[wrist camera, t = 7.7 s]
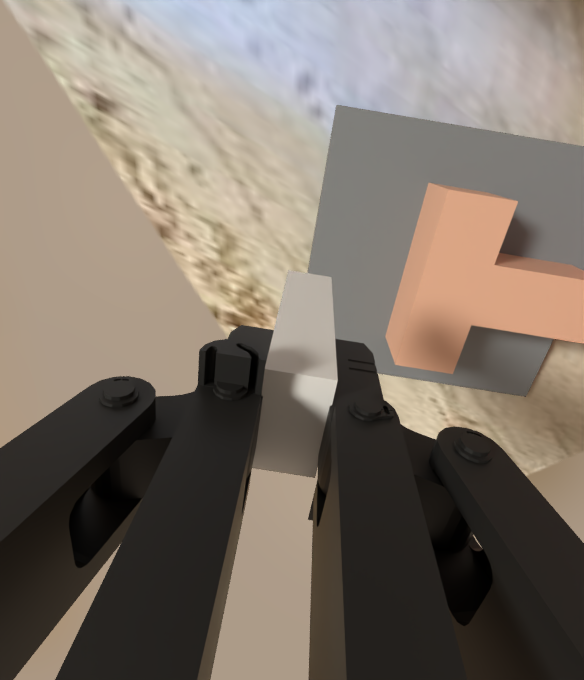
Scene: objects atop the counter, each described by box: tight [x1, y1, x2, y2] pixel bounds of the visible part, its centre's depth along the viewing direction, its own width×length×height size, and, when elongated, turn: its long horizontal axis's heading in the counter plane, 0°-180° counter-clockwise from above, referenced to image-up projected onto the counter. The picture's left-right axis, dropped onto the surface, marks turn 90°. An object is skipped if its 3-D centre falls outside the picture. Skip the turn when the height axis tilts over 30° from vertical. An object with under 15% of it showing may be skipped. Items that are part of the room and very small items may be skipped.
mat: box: [308, 105, 584, 397], centre depth 26 cm, size 16×17×1 cm
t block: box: [385, 183, 584, 374], centre depth 24 cm, size 10×10×4 cm
